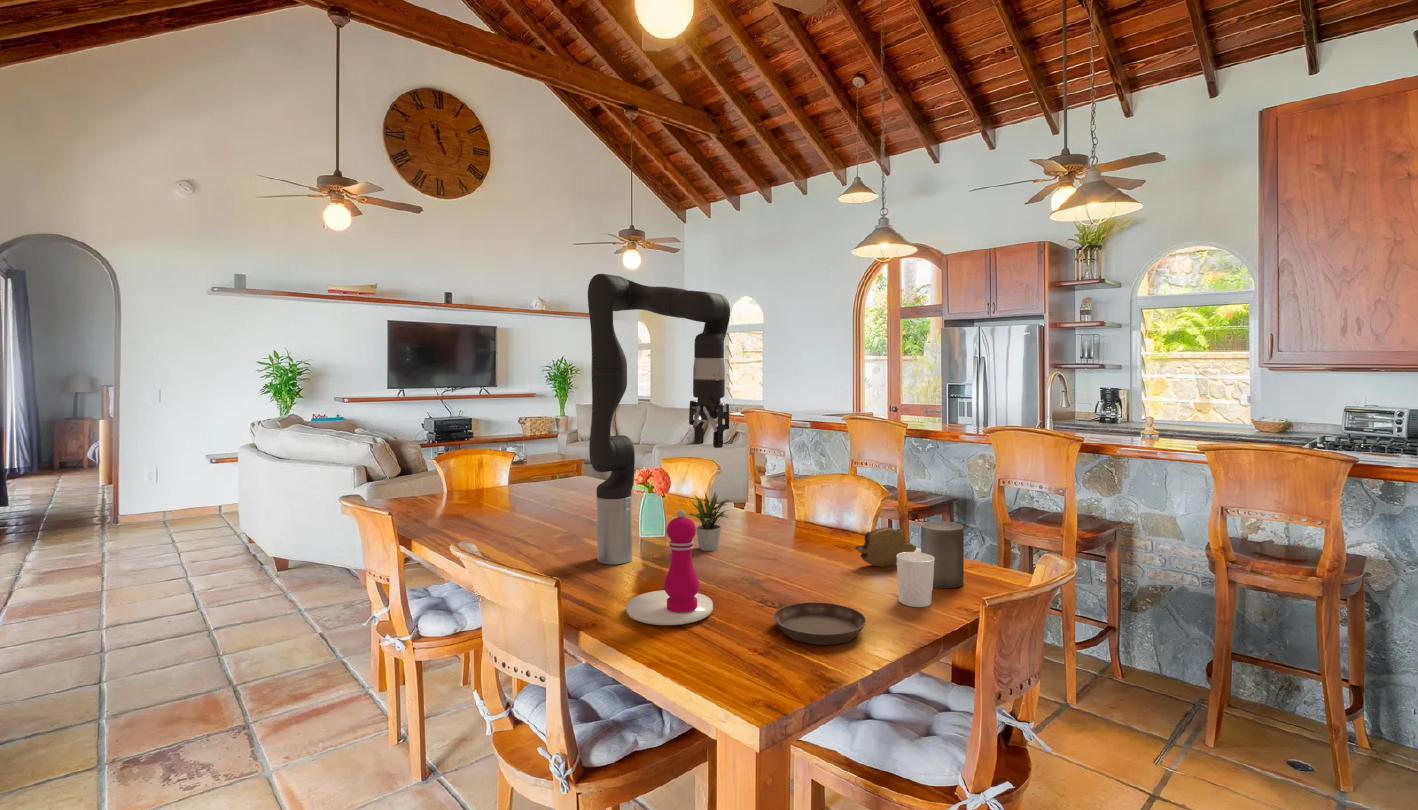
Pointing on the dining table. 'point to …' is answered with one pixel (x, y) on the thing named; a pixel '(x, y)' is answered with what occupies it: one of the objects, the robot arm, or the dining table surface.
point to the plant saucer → (819, 622)
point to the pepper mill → (681, 565)
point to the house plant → (709, 523)
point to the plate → (665, 609)
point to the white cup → (915, 578)
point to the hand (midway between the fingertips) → (708, 445)
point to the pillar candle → (944, 551)
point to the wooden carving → (884, 546)
